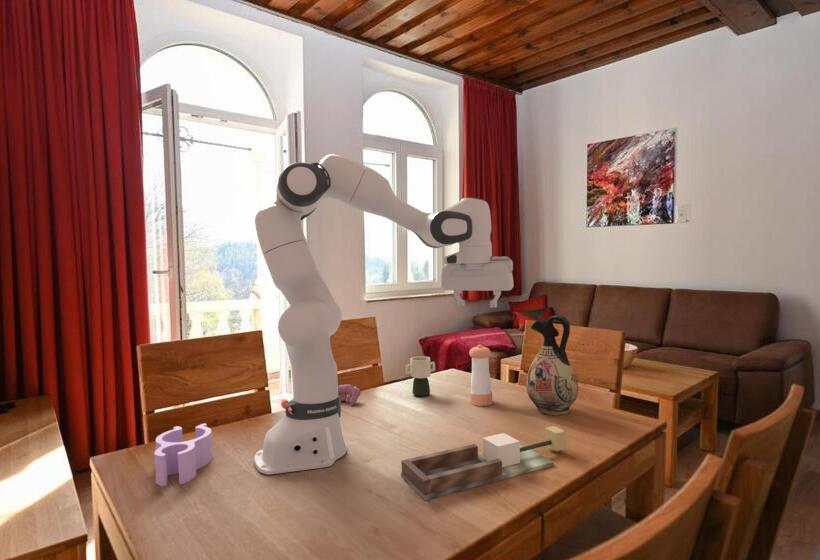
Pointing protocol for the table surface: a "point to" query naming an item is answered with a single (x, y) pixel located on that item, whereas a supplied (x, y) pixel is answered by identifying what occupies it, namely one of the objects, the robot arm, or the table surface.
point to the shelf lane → (463, 470)
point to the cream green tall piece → (420, 374)
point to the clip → (182, 454)
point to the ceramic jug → (552, 370)
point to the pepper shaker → (480, 377)
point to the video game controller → (351, 390)
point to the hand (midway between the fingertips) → (477, 306)
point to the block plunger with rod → (510, 447)
